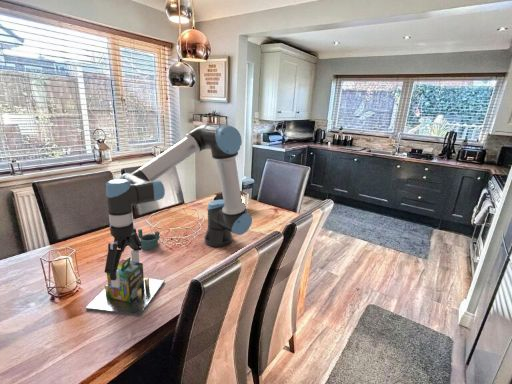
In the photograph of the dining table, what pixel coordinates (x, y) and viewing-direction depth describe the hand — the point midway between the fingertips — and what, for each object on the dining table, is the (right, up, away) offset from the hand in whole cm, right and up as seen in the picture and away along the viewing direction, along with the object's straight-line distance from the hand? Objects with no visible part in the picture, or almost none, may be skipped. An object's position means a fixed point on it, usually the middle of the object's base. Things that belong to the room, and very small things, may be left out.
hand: (126, 275), depth 104 cm
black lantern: (+28, +19, +98) cm, 104 cm away
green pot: (-6, +3, +40) cm, 40 cm away
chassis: (0, -8, +3) cm, 9 cm away
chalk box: (-1, -8, +2) cm, 8 cm away
